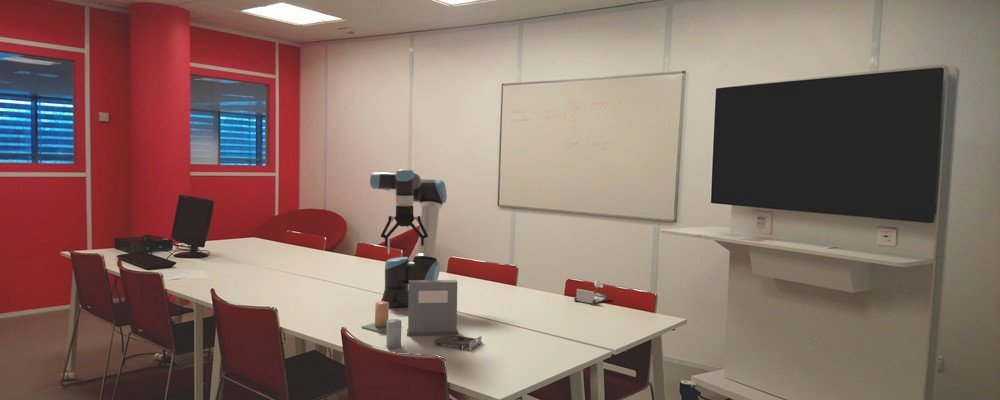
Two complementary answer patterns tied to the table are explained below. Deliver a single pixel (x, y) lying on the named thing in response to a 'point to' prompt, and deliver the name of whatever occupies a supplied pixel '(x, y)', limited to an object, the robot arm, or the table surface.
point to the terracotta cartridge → (381, 314)
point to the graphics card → (458, 341)
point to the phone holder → (591, 295)
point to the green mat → (375, 328)
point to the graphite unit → (432, 307)
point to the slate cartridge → (393, 333)
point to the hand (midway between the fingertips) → (404, 253)
